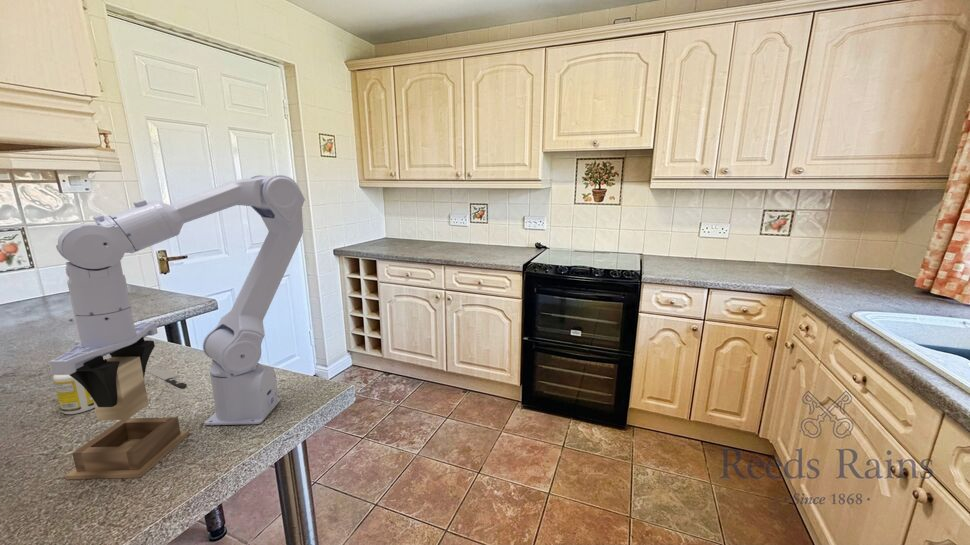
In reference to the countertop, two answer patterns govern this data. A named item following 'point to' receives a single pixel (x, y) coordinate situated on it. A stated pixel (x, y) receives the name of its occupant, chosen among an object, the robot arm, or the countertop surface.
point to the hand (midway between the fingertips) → (121, 397)
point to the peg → (126, 391)
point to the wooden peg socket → (127, 448)
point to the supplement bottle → (72, 395)
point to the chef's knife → (166, 377)
